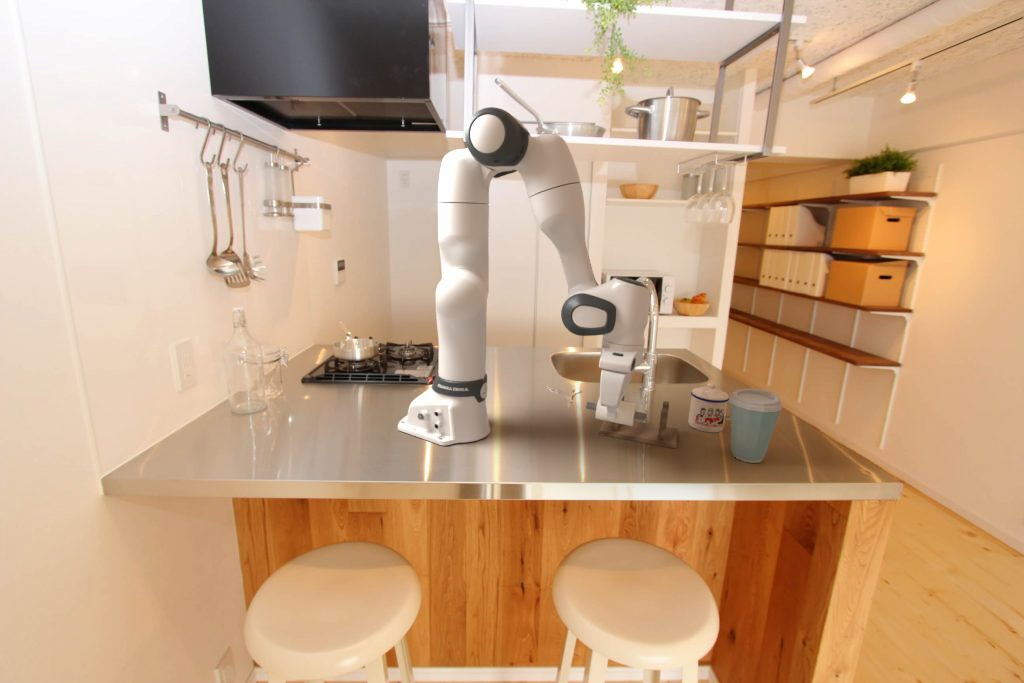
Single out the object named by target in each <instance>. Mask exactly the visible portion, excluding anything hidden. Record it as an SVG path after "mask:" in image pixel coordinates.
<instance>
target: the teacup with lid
mask: <svg viewBox="0 0 1024 683" xmlns="http://www.w3.org/2000/svg"><path fill="white" fill-rule="evenodd" d="M716 386H717V385H716V384H715V383H714V382H708V383H707V385H703V386H701V387H695V388H693V389H692V390H691V392H690V393H691V398H690V400H691V401H690V406H689V413H688V419H687V420H688V422H687V423H688V425H689V426H690V427H691V428H693V429H695V430H698V431H700V432H706V433H719V432H722V431H723V430H724V427H725V422H726V420H727V421H730V420H731V417H730V415H727V408H728V405H730V402H729V397H730V395H729V394H728V393H726V392H725V391H724V390H721V389H720V388H718V387H716Z"/></svg>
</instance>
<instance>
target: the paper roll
mask: <svg viewBox="0 0 1024 683" xmlns="http://www.w3.org/2000/svg"><path fill="white" fill-rule="evenodd" d="M585 407H586V408H585V409H586V410H591V411H595V415H594V416H595V419H597V420H601V421H604V420H605V421H610V422H615V423H619V424H624V425H629V426H633V423H634V421H635V419H636V420H638V421H639V420H640V421H642V422H645V421H646V420H647V417H648V416H647V414H648V413H645V412H640V411H637V403H636V402H629V401H625V400H624V401H621V402H620V404H619V406H618V408H617V413H616V418H615V420H609V419H607V407H604V406H601V404H600V396H599V397H598V400H597V403H594V402H589V401H587V402H586V406H585Z"/></svg>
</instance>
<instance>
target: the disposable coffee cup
mask: <svg viewBox="0 0 1024 683" xmlns="http://www.w3.org/2000/svg"><path fill="white" fill-rule="evenodd" d="M728 401H729V402H730V404H729V405H730V406H729V408H730V411H729V412H730V415H729V416H730V417H731V419H730V447H731V448H730V450H731V453H733V454H732V457H734V458H735V457H736V459H737V460H739V459H740V461H742V462H745V463H751V464H753V463H754V464H755V463H761V462H762V461H763V460H764V459H765V458H766V454H767V451H768V448H769V444H770V441H771V439H772V436H773V433H774V429H775V426H776V425H777V421H778V418H779V416H780V413H781V412H780V411H781V410H783V409H782V408H783V407H782V406H783V403H782V402H781V399H780V395H778V394H776V393H774V392H771V391H769V390H765V389H761V388H741V389H737V390H734V391H733V392H732V393H730V394H729V400H728Z"/></svg>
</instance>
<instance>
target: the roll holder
mask: <svg viewBox="0 0 1024 683" xmlns="http://www.w3.org/2000/svg"><path fill="white" fill-rule="evenodd" d="M622 401H625V395H624V396H623V398H622ZM669 410H670V401H666V400H663V402H662V407H661V411H660V417H659V424H652V423H649V422H648V423H647V422H644V421H636V420H634V423H633V426H629V425H624V424H619V423H615V422H610V421H605V420H603V422H602V423H601V426H600V428H599V430H598V435H601V434H604V435H603V436H606V435H608V437H612V436H614V437H613V438H617V437H618V438H617V439H622V438H624V440H629V441H634V442H639V443H644V444H648V445H649V444H650V445H654V446H659V447H665V448H672V449H675V448H677V443H678V442H677V441H678V434H679V428H676V427H671V426H667V425H668V417H669Z"/></svg>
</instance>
